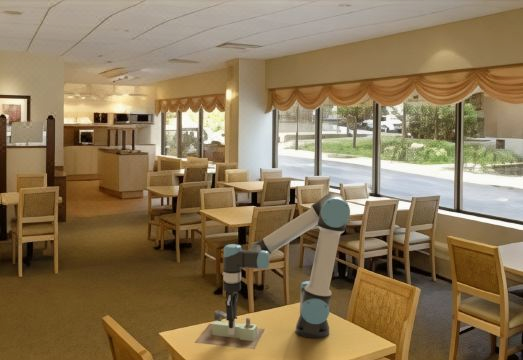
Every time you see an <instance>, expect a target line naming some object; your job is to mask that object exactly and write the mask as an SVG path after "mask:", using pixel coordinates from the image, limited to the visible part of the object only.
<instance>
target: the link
mask: <svg viewBox="0 0 523 360" xmlns="http://www.w3.org/2000/svg"><path fill="white" fill-rule="evenodd" d="M211 324H212V335H217V336H225V337H232V338H240V340H248V341H254V340H255V338H256V337H257V328H258V324H255V323H250V328H246V322H244V323H239V322H238V323H237V322H235V335H228V321H222V320H221V321H215V320H214V321H213V322H212V323H211Z"/></svg>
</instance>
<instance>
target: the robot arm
mask: <svg viewBox="0 0 523 360" xmlns="http://www.w3.org/2000/svg"><path fill="white" fill-rule="evenodd" d="M350 216H351V208H350V205H349V204H348V202H347V200H346V199H345V198H344V197H343V196H342V195H341V194H338V193H333V192H331V193H327V194H326V195H324V196H323V197H321V198H320V199H319V200H317V201H316V202H314V203H313V204H312V205H311V206H310V208H309V209H307V210H306V211H305V212H303V213H301V214H299V216H297V217H295V218H293V219H292V220H290V221H288V222H287V223H285V224H284V225H282V226H280V227H279V228H278V229H276V230H275V231H272V233H270V234H268V235H267V236H265V237H264V238H262V239H260V240H258V241H255V242H253V243H252V244H250V247H249V249H248V250H245V249H243V248H242V246H241V245H240V244H236V243H230V244H229V243H228V244H227V245H224V247H223V255H222V257H223V263H222V265H223V269H222V271H223V272H222V273H221V275H222V276H223V282H222V283H223V284H222V288H223V289H222V290H223V291H225V292H226V293H227V294H226V300H225V311H226V312H225V313H227V318H225V320H226V321H227V322H228V335H235V323H236V319H238V315H237V313H238V311H237V310H238V298H239V291H241V289H242V281H241V280H242V269H257V270H258V269H259V270H263V269H268V268H269V267H270V255H272V253H274V252H276V251H277V250H279V249H280V248H283V247H284V246H286V245H287V244H289V243H291V242H292V241H294V240H295V239H297V238H298V237H300V236H302V235H303V234H304V233H306V232H308V231H310V230H312V229H313V228H314V227H318V229H319V233H318V238H317V242H316V244H317V245H316V248H315V253H314V258H313V262H312V263H313V264H312V268H311V273H310V277H309V280H306V281H302V282H301V284H300V288H299V289H300V298H299V300H300V302H299V304H300V305H299V306H300V307H299V316H298V319H297V322H296V325H295V333H296V334H297V335H299V336H301V337H304V338H308V339H321V338H325V337H328V336H329V335H330V325H329V322H328V318H329V315H330V303H331V299H332V295H333V294H332V293H333V292H332V291H331V290H330V286H331V280H332V275H333V271H334V268H335V267H334V266H335V262H336V257H337V252H338V247H339V242H340V239H341V238H340V237H341V235H342V234H343V233H344V232H345V231H346V227H347V222H348V221H349V219H350Z"/></svg>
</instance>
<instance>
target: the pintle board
mask: <svg viewBox="0 0 523 360" xmlns="http://www.w3.org/2000/svg"><path fill="white" fill-rule="evenodd" d="M222 318H224V319H227V313H226V312H225V311H222V310H217V309H216V310H215V311H214V322H215V321H222ZM245 323H246V328H250V324H251V318H250V317H246V318H245ZM212 324H213V323H209V324H208V325H207V327H205V328H204V330H203V331H202V333H200V335H199V336H198V337H197V338H196V340H195V341H194V343H195V344H205V345H213V346H222V347H234V348H241V349H251V350H252V349H253V350H255V349H256V347H257V345H258V343H259V341H260V339H261V338H262V336H263V334H264V331H265V330H266V328H259V327H257V337H256V338H255V340H254V341H248V340H240V338H232V337H225V336H217V335H212Z"/></svg>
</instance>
